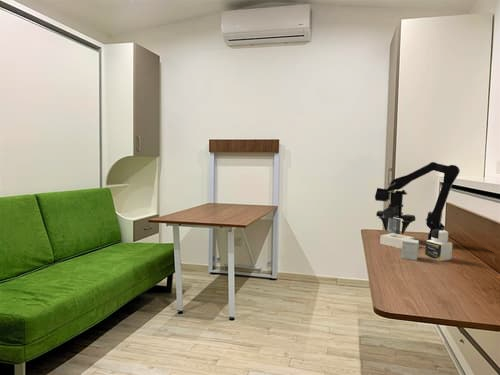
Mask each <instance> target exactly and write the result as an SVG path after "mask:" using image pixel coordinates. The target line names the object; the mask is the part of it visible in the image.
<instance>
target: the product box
mask: <svg viewBox="0 0 500 375" xmlns="http://www.w3.org/2000/svg"><path fill="white" fill-rule="evenodd" d="M419 245H420V240H418V239H414V240H413V239H405V238H404V239H403V242H402V249H401V254H400V255H401V256H400V258H401V259H405V260H406V259H407V260H413V261H418V256H419V255H418V254H419Z"/></svg>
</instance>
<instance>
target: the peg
mask: <svg viewBox="0 0 500 375" xmlns="http://www.w3.org/2000/svg"><path fill="white" fill-rule="evenodd" d="M401 224H402V219H401V218H395V217H393V218H389V221H388V233H387V234H391V233H395V234H400V235H401Z"/></svg>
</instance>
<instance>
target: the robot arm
mask: <svg viewBox="0 0 500 375" xmlns="http://www.w3.org/2000/svg"><path fill="white" fill-rule="evenodd" d="M433 171H435V172H439V173H443V174H444V175H443V181H442V182H443V183H442V185H441V188H440V191H439V194H438V197H437V199H436V202H435V206H434V209H433V210H432V211H428V212H427V216H426V219H425V223H426V226H427V227H428V228H429V232H428V236H427V240H432V239H431V235H432V230H434V229H441V230H446V226H445V225H444V224H443V223H442V218H443V210H444V209H445V208H444V207H445V205H446V203H447V200H448V197H449V195H450V191H451V188H452V186H453V184H454V182H455V181H456V180H457V178H458V176H459V174H460V171H461V169H460V168H459V167H458V166H457V165H455V164H450V165H445V164H442V163H438V162H435V161H431V162H430V163H428V164H426V165H424V166H422V167H420V168H419V169H416V170H415V171H413V172H411V173H409V174H407V175H403V176H400V177H396V178H393V179H392V180H391V181H390V185H389V186H388V187H387V188H380V187H377V188H376V191H375V195H374V199H375V201H377V202H378V201H379V202H385V203H387V202H388V201H390V202H389V204H388V207H386V208H385V209H384V210H377V212H376V215H375V216H376V217H378V219H380V220H381V222H382V224H383V225H382V226H383V228H384V231H388V229H389V219H391V218H395V219H401V224H402V225H401V235H404V233H405V232H406V230H407V228H408V227H409V226H410V224H411V223H413V222H415V221H416V216H415V214H414V215H412V214H404V212H402V210H403V207H404V204H403V197H404V196H406V195H408V193H407V191H406V190H405V189H403V188H405V187H406V186H408V185H409V184H410V183H411V182H413V181H415V180H418V179H419V178H421V177H423V176H426V175H427V174H429V173H431V172H433ZM401 189H402V190H401ZM393 191H394V192H393Z"/></svg>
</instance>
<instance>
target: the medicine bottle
mask: <svg viewBox="0 0 500 375" xmlns="http://www.w3.org/2000/svg"><path fill="white" fill-rule="evenodd" d="M431 239H432V240H428V239H427V240H425V250H424V257H425V258H429V259H432V260H434V261H438V262H442V261H450V260H452V255H453V254H452V253H453V252H452V251H453V243H452V242H450V241H449V232H448V231H447V230H446V229H445V230H441V229H434V230H432V235H431Z"/></svg>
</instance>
